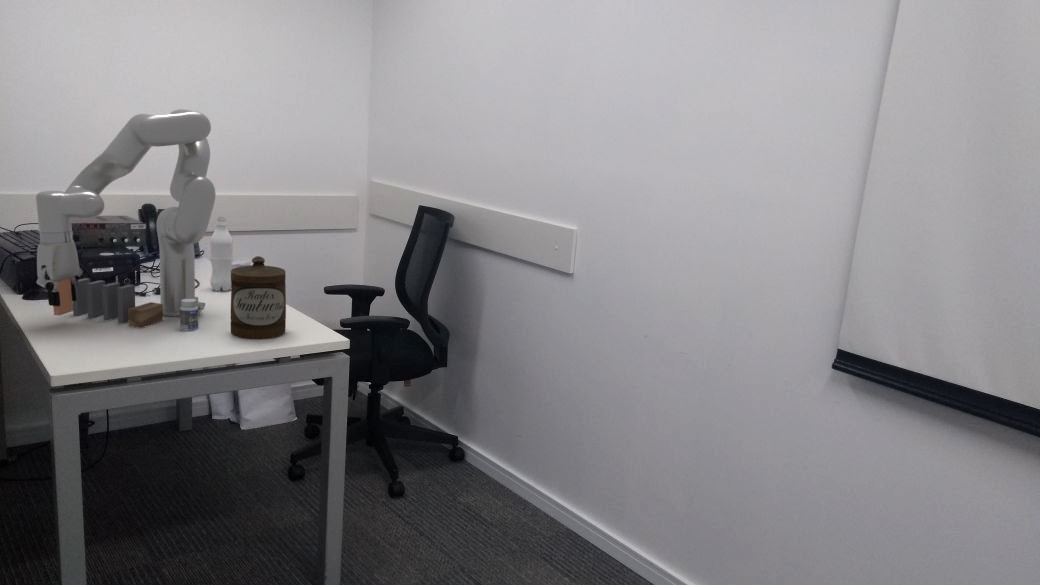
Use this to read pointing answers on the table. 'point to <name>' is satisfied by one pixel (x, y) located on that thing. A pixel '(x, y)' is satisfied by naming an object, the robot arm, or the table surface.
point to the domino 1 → (64, 297)
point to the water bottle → (221, 256)
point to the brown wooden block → (145, 314)
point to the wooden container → (258, 301)
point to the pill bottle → (189, 315)
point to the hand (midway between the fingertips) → (62, 302)
